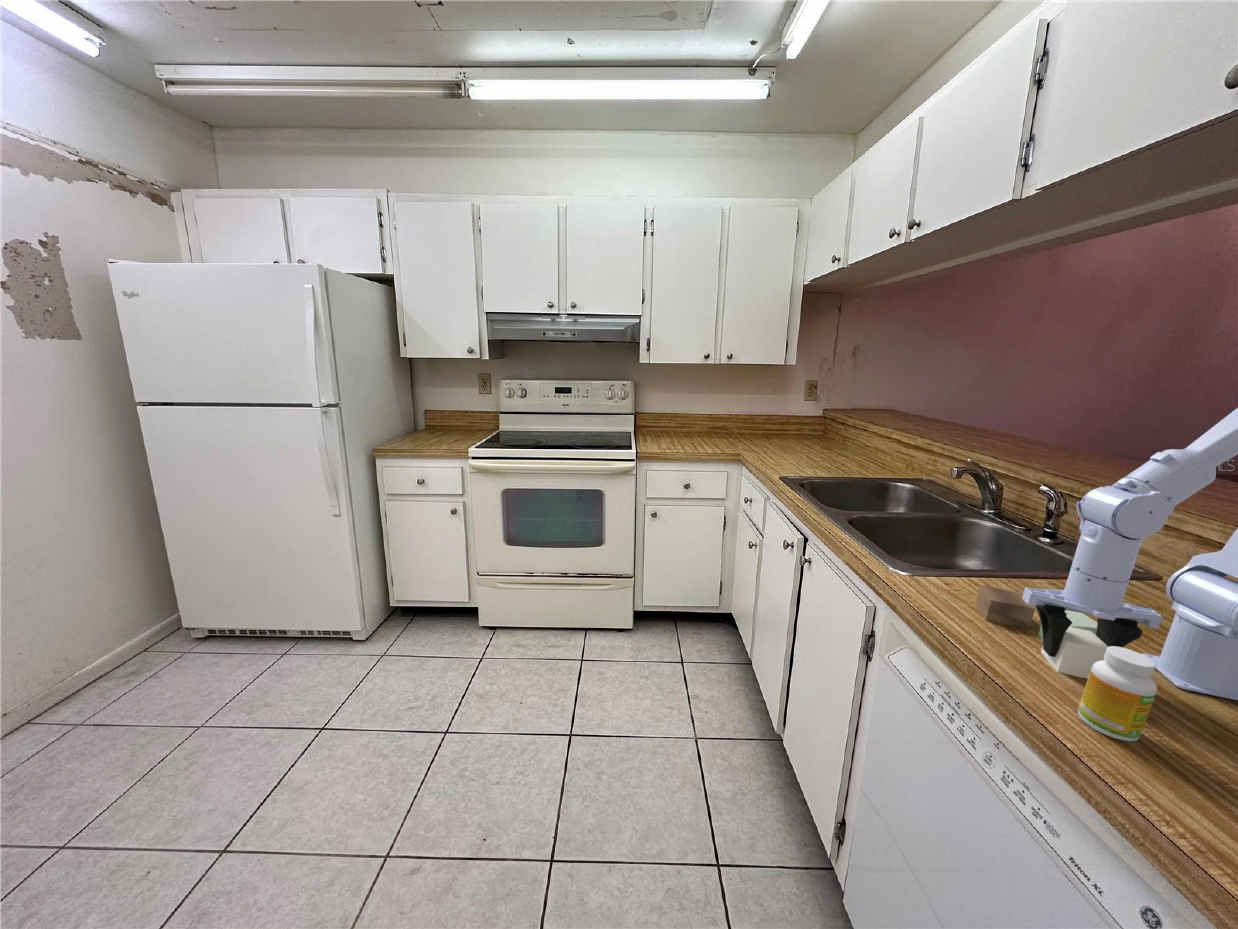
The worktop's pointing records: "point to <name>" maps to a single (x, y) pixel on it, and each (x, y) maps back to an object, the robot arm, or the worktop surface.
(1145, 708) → the supplement bottle
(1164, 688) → the worktop surface
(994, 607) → the walnut block
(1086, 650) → the cream cube
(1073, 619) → the sage cube
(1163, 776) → the worktop surface
